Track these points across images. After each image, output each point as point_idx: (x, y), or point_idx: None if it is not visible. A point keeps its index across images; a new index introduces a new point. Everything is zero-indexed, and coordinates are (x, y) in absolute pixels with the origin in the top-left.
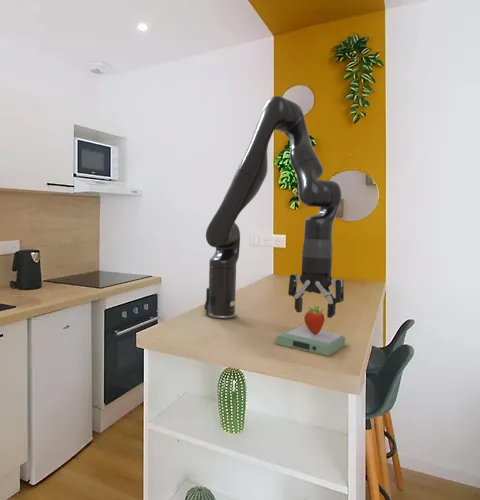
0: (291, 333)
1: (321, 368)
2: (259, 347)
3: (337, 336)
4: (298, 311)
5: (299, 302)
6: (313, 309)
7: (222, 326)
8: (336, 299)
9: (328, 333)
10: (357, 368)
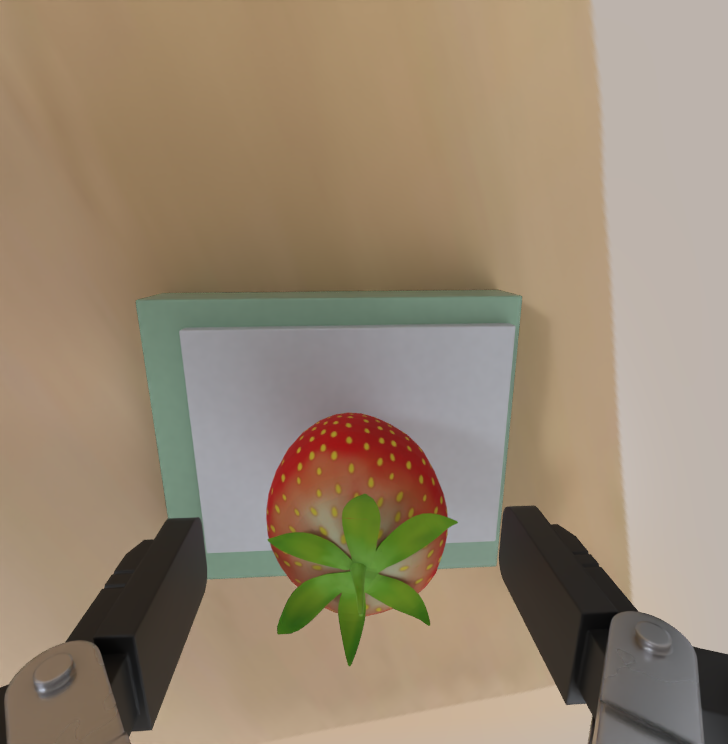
0: (240, 539)
1: (504, 674)
2: None
3: (499, 390)
4: (202, 591)
5: (168, 676)
6: (341, 565)
7: None
8: None
9: (425, 361)
10: (624, 583)
